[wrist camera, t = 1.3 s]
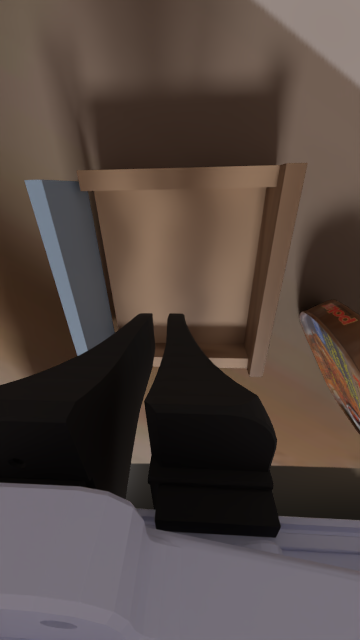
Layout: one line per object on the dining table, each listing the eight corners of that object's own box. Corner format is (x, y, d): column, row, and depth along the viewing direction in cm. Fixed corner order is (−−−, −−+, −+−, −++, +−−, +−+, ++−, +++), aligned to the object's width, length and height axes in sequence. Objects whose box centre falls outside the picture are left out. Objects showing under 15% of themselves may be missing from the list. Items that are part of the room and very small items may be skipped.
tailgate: (109, 344, 22) (87, 387, 17) (75, 182, 15) (24, 180, 10) (118, 344, 22) (97, 387, 17) (87, 181, 15) (41, 179, 10)
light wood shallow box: (127, 338, 23) (112, 373, 19) (101, 174, 16) (67, 169, 12) (249, 340, 23) (262, 377, 18) (275, 169, 16) (307, 162, 11)
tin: (288, 296, 20) (341, 358, 13) (325, 278, 19) (406, 334, 12) (333, 401, 26) (387, 484, 19) (363, 391, 25) (432, 475, 18)
